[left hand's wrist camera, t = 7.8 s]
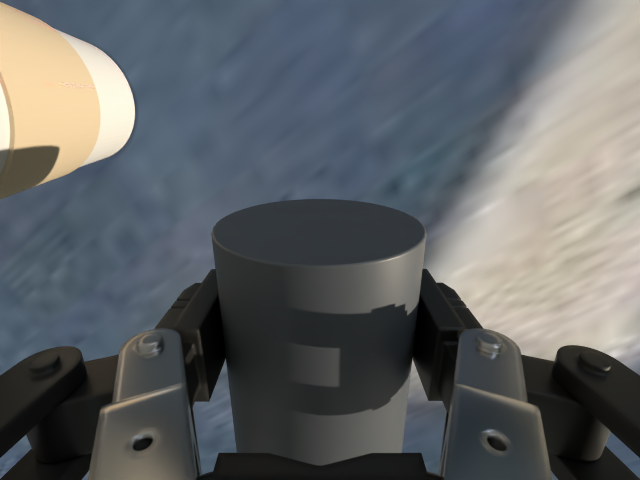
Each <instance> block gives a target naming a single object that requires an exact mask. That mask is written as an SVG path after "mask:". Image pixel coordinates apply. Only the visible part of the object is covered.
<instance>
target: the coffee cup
mask: <svg viewBox="0 0 640 480" xmlns="http://www.w3.org/2000/svg"><path fill="white" fill-rule="evenodd" d="M134 119H135V107H134V100H133V96H132V92H131V89H130V87H129V84H128V82H127V80H126V78H125V76H124V75H123V73H122V72H121V70H120V69H119V67H118V66H117V65H116V64H115V63H114V61H113V60H112V59H111V58H110V57H108V56H107V55H106V54H105V53H104V52H102V51H101V50H100V49H98V48H96V47H95V46H93V45H91V44H89V43H86V42H84V41H82V40H79V39H77V38H75V37H72V36H70V35H68V34H65V33H63V32H61V31H58V30H56V29H53V28H52V27H50V26H49V25H47V24H46V23H44V22H43V21H41V20H39V19H37V18H35V17H33V16H31V15H29V14H27V13H24V12H22V11H20V10H17V9H15V8H13V7H11V6H8V5H6V4H4V3H1V2H0V199H2V198H5V197H8V196H10V195H13V194H16V193H18V192H21V191H24V190H26V189H29V188H32V187H34V186H37V185H40V184H42V183H45V182H48V181H50V180H53V179H56V178H58V177H61V176H64V175H66V174H68V173H70V172H72V171H74V170H75V169H77V168H78V167H81V166H84V165H87V164H90V163H92V162H95V161H98V160H101V159H104V158H107V157H109V156H111V155H113V154H115V153H116V152H117V151H119V150H120V149H121V148H122V147H123V146H124V144H125V143H126V142H127V140H128V138H129V137H130V134H131V132H132V129H133V125H134Z"/></svg>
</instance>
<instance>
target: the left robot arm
mask: <svg viewBox="0 0 640 480" xmlns="http://www.w3.org/2000/svg"><path fill="white" fill-rule="evenodd" d="M412 358H413V361H414V363H415V366H416V369H417V371H418V374H419V377H420V379H421V382H422V385H423V387H424V390H425V393H426V395H427V398H428V401H443V403H444V406H445V408H446V410H447V413H446V419H445V426H444V434H443V441H442V449H441V456H440V464H439V471H438V475H437V474H434V473H431V472H427V471H426V468H425V464H424V461H423V457H422V454H421V453H369V454H365V455H362V456H358V457H354V458H350V459H346V460H342V461H339V462H335V463H331V464H327V465H322V466H318V465H313V464H309V463H305V462H301V461H298V460H294V459H290V458H286V457H282V456H278V455H275V454H271V453H219V454H218V457H217V461H216V464H215V468H214V471H213V472H209V473H206V474H203V475H202V471H201V464H200V456H199V449H198V441H197V434H196V426H195V419H194V413H193V405H194V403H195V401H209V400H210V398H211V395H212V393H213V390H214V387H215V385H216V382H217V380H218V377H219V374H220V372H221V369H222V367H223V364H224V361H225V359H226V354H225V345H224V337H223V328H222V320H221V311H220V302H219V294H218V285H217V277H216V269H212V270H211V271H210V272H209V273H208V275H207V276H206V278H205V279H204V281H203V282H202V283H195V284H193V285H192V286H190V287H189V288H187V289H185V290H184V291H183V292H182V293H181V295H180V296H179V297H178V299H177V301H175V302H174V304H173V305H172V306H171V309H169V310H168V312H167V313H166V314H165V316H164V317H163V318H162V319H161V321H160V322H159V323H158V325H157V326H156V327H155V329H152V330H148V331H145V332H142V333H140V334H137V335H135V336H134V337H132V338H130V339H129V340H128V341H127V342H125V343H124V344H123V346H122V347H121V349H120V352H119V354H118V355H115V356H111V357H106V358H101V359H96V360H91V361H86V362H84V360H83V357H82V353H81V351H80V350H79V349H78V348H75V347H71V346H62V347H55V348H51V349H47V350H44V351H41V352H38V353H36V354H34V355H31V356H29V357H28V358H26V359H24V360H22V361H21V362H19V363H18V364H16V365H15V366H13V367H12V368H11V369H9V370H8V371H6V372H5V373H3V374H2V375H0V457H2V456H3V455H4V454H5V453H6V452H7V451H8V450H9V449H10V448H11V447H13V446H14V445H15V444H16V443H17V442H18V441H19V440H20V439H21V438H22V437H24V436H25V435H27V438H28V440H29V442H30V445H31V447H32V449H31V450H30V451H29V452H28V453H27V454H26V455H25V456H24V457H23V458H22V459H21V460H19V461H18V462H17V463H16V464H15V465H14V466H13V467H12V468H11V469H10V470H9V471H8V472H7V473H6V474H5V475H4V476H3V477H2V478H1V479H0V480H82V478H83V477H84V476H85V475H86V473H87V472H88V471H89V474H88V480H552V474H551V471H552V472H553V473H554V475H555V476H556V477H557V478H558V480H640V479H639V478H638V477H637V476H636V475H635V474H634V473H633V472H632V471H631V470H630V469H629V468H628V467H627V466H626V465H625V464H624V463H623V462H622V461H621V460H619V459H618V458H617V457H616V456H615V455H614V454H613V453H612V452H611V451H610V450H609V449H608V448H607V447H606V446H605V445H606V442H607V440H608V437H609V435H610V432H612V433H613V434H614V435H615V436H616V437H617V438H619V439H620V440H621V441H622V442H623V443H624V444H625V445H626V446H627V447H628V448H630V449H631V450H632V451H633V452H634V453H635V454H636V455H637V456H638V457H639V458H640V375H638V374H637V373H635V372H634V371H632V370H631V369H629V368H628V367H627V366H625V365H624V364H622V363H621V362H619V361H618V360H616V359H615V358H613V357H611V356H609V355H607V354H605V353H603V352H600V351H598V350H595V349H592V348H588V347H584V346H576V345H568V346H564V347H561V348H560V349H559V350H558V351H557V355H556V358H555V361H550V360H545V359H540V358H535V357H530V356H525V355H521V352H520V349H519V347H518V346H517V344H516V343H515V342H513V341H512V340H511V339H510V338H508V337H506V336H505V335H503V334H500V333H498V332H495V331H492V330H488V329H483V327H482V326H481V325H480V323H479V322H478V321H477V320H476V318H475V317H474V316H473V314H472V313H471V312H470V310H469V309H468V308H466V305H465V304H464V302H463V301H461V298H460V297H459V296H458V294H457V293H456V292H455V290H453V289H452V288H450V287H448V286H447V285H445V284H444V283H436V282H435V280H434V279H433V277H432V276H431V274H430V273H429V272H428V270H427V269H422V278H421V286H420V295H419V304H418V313H417V321H416V330H415V339H414V348H413V356H412Z"/></svg>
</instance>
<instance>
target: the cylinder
mask: <svg viewBox="0 0 640 480" xmlns="http://www.w3.org/2000/svg"><path fill="white" fill-rule="evenodd" d="M212 242H213V251H214V259H215V268H216V277H217V285H218V294H219V302H220V311H221V320H222V328H223V337H224V345H225V354H226V363H227V371H228V380H229V388H230V397H231V406H232V414H233V423H234V431H235V440H236V449H237V453H271V454H275V455H278V456H282V457H286V458H290V459H294V460H298V461H301V462H305V463H309V464H313V465H318V466H322V465H327V464H331V463H335V462H339V461H342V460H346V459H350V458H354V457H358V456H362V455H365V454H369V453H402V444H403V435H404V426H405V418H406V409H407V400H408V391H409V383H410V374H411V365H412V356H413V348H414V339H415V330H416V321H417V313H418V304H419V295H420V286H421V278H422V269H423V260H424V251H425V242H426V230H425V227H424V226H423V225H422V223H421V222H419V221H418V220H417V219H416V218H414V217H412V216H410V215H408V214H406V213H404V212H401V211H399V210H396V209H393V208H389V207H385V206H381V205H377V204H371V203H365V202H358V201H349V200H333V199H305V200H290V201H280V202H273V203H267V204H262V205H257V206H253V207H249V208H246V209H242V210H240V211H237V212H234V213H232V214H230V215H228V216H226V217H224V218H223V219H221V220H220V221H219V222H217V223H216V225H215V226H214V227H213V231H212Z"/></svg>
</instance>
